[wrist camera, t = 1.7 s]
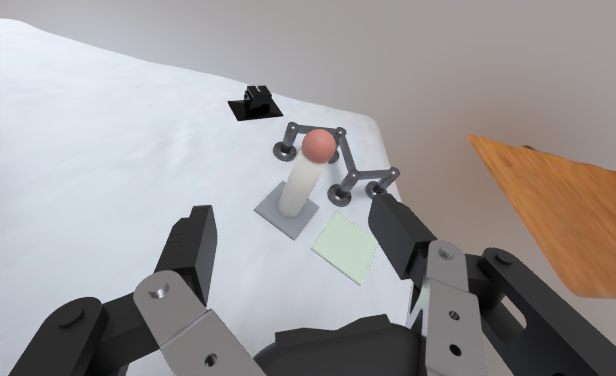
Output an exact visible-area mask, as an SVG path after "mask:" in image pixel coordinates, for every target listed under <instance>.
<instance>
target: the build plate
mask: <svg viewBox="0 0 616 376" xmlns="http://www.w3.org/2000/svg"><path fill="white" fill-rule="evenodd" d="M258 89H259V91H260V92H259V91H258V90H257V88H256V87H255V86H247V91H245V95H244V100H239V101H227V102H228V104H229V106H230V108H231V109H232V111H233V113H234V115H235V117H236V119H237V121H245V120H254V119H263V118H272V117H281V116H284V115H283V114H282V112H281V111H280V110H279V108H278V107H277V105H276V104H275V102H274V101H273V99H272V98H271V97H272V95H271V93H270V92H269V90H268V89H267V87H266V86H258Z"/></svg>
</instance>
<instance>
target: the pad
mask: <svg viewBox="0 0 616 376" xmlns="http://www.w3.org/2000/svg"><path fill="white" fill-rule="evenodd" d="M378 244H379V243H378V241H377V240H376V238H375V237H373V236H372V235H370V234H369V233H368V232H366V231H365V230H363V229H362V228H361V227H359V226H358V225H356V224H355V223H354V222H352V221H351V220H350V219H348V218H347V217H345V216H344V215H343V214H341V213H340V212H338V211H336V212H335V214H334V215H333V217H332V218H331V220H330V221H329V223H328V224H327V226H326V227H325V229H324V230H323V232H322V233H321V235H320V236H319V238H318V239H317V241H316V242H315V244H314V245H313V247H312V248H311V249H312V250H313V251H314V252H316V253H317V254H318V255H320V256H321V257H322V258H324V259H325V260H326V261H328V262H329V263H330V264H332V265H333V266H334V267H336V268H337V269H338V270H340V271H341V272H342V273H344V274H345V275H346V276H348V277H349V278H350V279H352V280H353V281H354V282H356V283H357V284H358V285H361V283H362V281H363V279H364V276H365V274H366V272H367V269H368V267H369V265H370V262H371V260H372V258H373V255H374V253H375V251H376V249H377V246H378Z"/></svg>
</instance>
